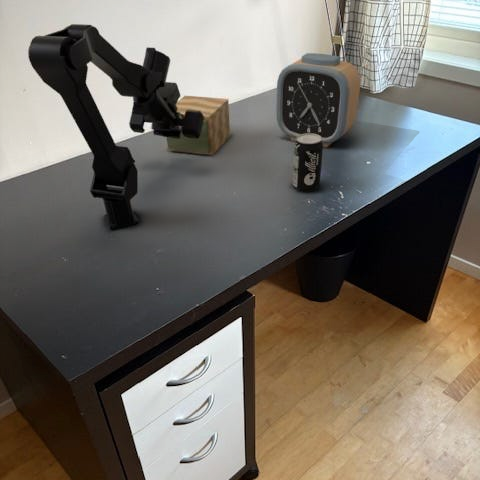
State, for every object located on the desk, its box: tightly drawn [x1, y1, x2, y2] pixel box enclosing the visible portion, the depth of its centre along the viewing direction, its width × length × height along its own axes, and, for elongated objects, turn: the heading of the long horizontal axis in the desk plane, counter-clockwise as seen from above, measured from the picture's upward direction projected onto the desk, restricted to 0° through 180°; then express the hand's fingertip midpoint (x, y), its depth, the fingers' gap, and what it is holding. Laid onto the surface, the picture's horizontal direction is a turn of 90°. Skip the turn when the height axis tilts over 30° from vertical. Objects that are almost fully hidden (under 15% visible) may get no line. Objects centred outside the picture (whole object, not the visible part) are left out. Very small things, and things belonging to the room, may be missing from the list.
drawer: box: [166, 119, 210, 154], centre depth 133 cm, size 18×12×9 cm
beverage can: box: [292, 133, 324, 193], centre depth 113 cm, size 7×7×12 cm
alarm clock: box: [275, 52, 361, 148], centre depth 132 cm, size 21×10×22 cm, turn 58°
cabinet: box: [167, 95, 231, 156], centre depth 136 cm, size 15×14×11 cm
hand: (178, 137), depth 126 cm, fingers closed
